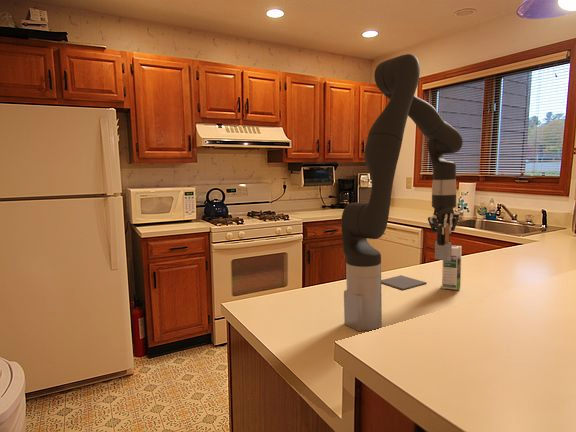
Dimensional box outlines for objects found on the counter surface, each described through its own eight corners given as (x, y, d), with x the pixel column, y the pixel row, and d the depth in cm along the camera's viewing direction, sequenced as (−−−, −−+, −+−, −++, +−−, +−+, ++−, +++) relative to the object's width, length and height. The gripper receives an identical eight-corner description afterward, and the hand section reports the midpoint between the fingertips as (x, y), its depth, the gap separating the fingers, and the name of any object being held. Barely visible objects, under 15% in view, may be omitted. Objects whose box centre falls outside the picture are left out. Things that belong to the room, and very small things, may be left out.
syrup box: (441, 288, 128) (442, 246, 127) (443, 284, 134) (444, 244, 132) (459, 290, 126) (461, 248, 124) (460, 286, 131) (462, 245, 130)
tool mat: (402, 290, 129) (402, 288, 129) (378, 282, 139) (378, 280, 139) (426, 283, 135) (426, 282, 135) (401, 276, 145) (401, 275, 145)
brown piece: (447, 261, 124) (447, 225, 122) (434, 258, 128) (435, 224, 127) (451, 260, 125) (451, 224, 123) (438, 257, 129) (439, 223, 128)
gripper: (439, 195, 117) (439, 249, 119) (467, 192, 124) (466, 243, 126) (420, 194, 124) (420, 245, 126) (447, 191, 131) (447, 240, 133)
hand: (443, 244), depth 126 cm, fingers closed on brown piece, 2 cm apart
